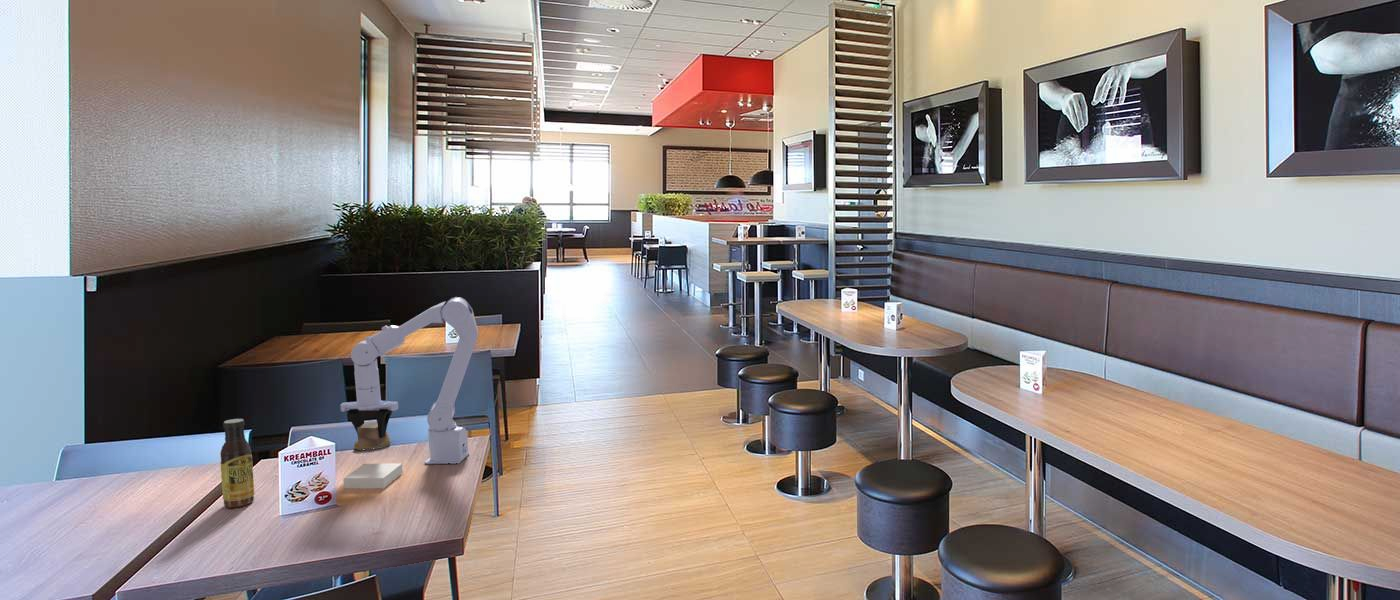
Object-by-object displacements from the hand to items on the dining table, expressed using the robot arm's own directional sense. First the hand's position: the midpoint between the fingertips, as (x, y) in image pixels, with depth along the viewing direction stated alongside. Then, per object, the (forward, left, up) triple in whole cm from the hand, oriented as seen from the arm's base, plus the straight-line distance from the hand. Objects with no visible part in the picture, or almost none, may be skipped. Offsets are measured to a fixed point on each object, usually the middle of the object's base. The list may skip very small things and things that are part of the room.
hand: (372, 436), depth 190 cm
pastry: (+8, -16, -8) cm, 20 cm away
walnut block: (0, 0, -2) cm, 2 cm away
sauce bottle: (+20, +24, -8) cm, 32 cm away
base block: (-5, +10, -8) cm, 14 cm away
